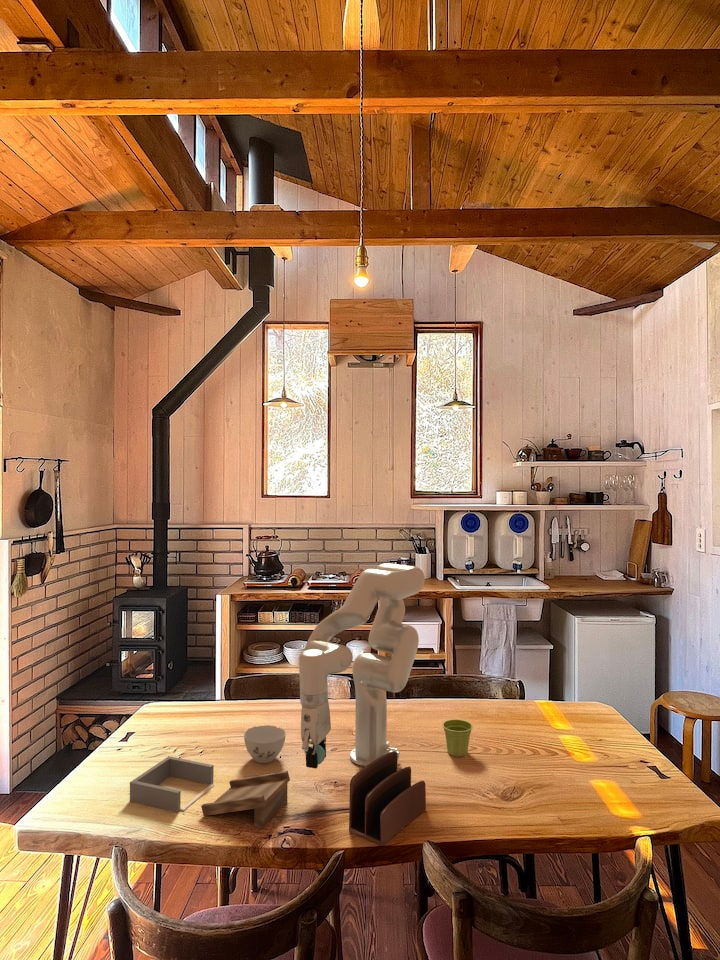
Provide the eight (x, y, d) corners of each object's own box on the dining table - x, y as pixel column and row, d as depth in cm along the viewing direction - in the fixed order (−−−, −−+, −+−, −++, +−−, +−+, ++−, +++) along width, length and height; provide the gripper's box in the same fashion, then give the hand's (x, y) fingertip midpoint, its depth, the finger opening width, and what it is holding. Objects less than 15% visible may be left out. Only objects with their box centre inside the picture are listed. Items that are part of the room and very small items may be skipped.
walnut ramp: (290, 801, 160) (290, 771, 160) (263, 830, 147) (264, 797, 147) (231, 788, 166) (231, 759, 166) (201, 815, 153) (201, 783, 153)
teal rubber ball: (328, 760, 167) (327, 742, 167) (321, 769, 163) (320, 751, 162) (311, 758, 169) (311, 740, 169) (304, 767, 164) (303, 749, 164)
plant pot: (437, 755, 187) (437, 727, 187) (448, 743, 196) (448, 717, 196) (467, 762, 183) (467, 733, 183) (476, 750, 191) (476, 722, 191)
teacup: (279, 770, 177) (280, 742, 177) (238, 767, 179) (238, 740, 178) (291, 747, 192) (291, 722, 192) (252, 745, 193) (252, 720, 193)
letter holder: (348, 832, 147) (348, 773, 147) (394, 798, 163) (394, 745, 163) (381, 847, 141) (382, 786, 141) (426, 810, 157) (427, 756, 156)
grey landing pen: (216, 783, 169) (216, 765, 169) (180, 813, 154) (180, 793, 154) (168, 773, 175) (168, 756, 175) (129, 801, 160) (129, 782, 160)
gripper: (313, 711, 155) (316, 780, 156) (338, 686, 171) (340, 749, 172) (287, 707, 158) (289, 776, 159) (314, 683, 174) (316, 745, 175)
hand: (316, 761), depth 166 cm, fingers closed on teal rubber ball, 4 cm apart
